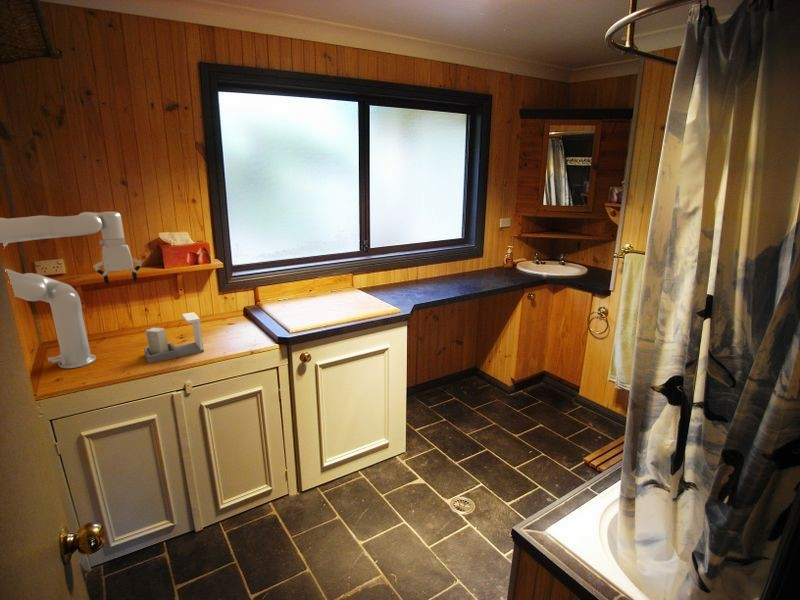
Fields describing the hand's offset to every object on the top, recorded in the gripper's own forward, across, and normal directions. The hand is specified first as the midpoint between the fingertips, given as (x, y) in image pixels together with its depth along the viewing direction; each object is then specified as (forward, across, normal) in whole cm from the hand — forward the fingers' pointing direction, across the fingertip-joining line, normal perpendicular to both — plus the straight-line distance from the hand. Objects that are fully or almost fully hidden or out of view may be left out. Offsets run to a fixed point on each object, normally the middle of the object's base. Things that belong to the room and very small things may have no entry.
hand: (121, 283), depth 190 cm
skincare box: (+31, +8, -14) cm, 35 cm away
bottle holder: (+30, +14, -14) cm, 36 cm away
